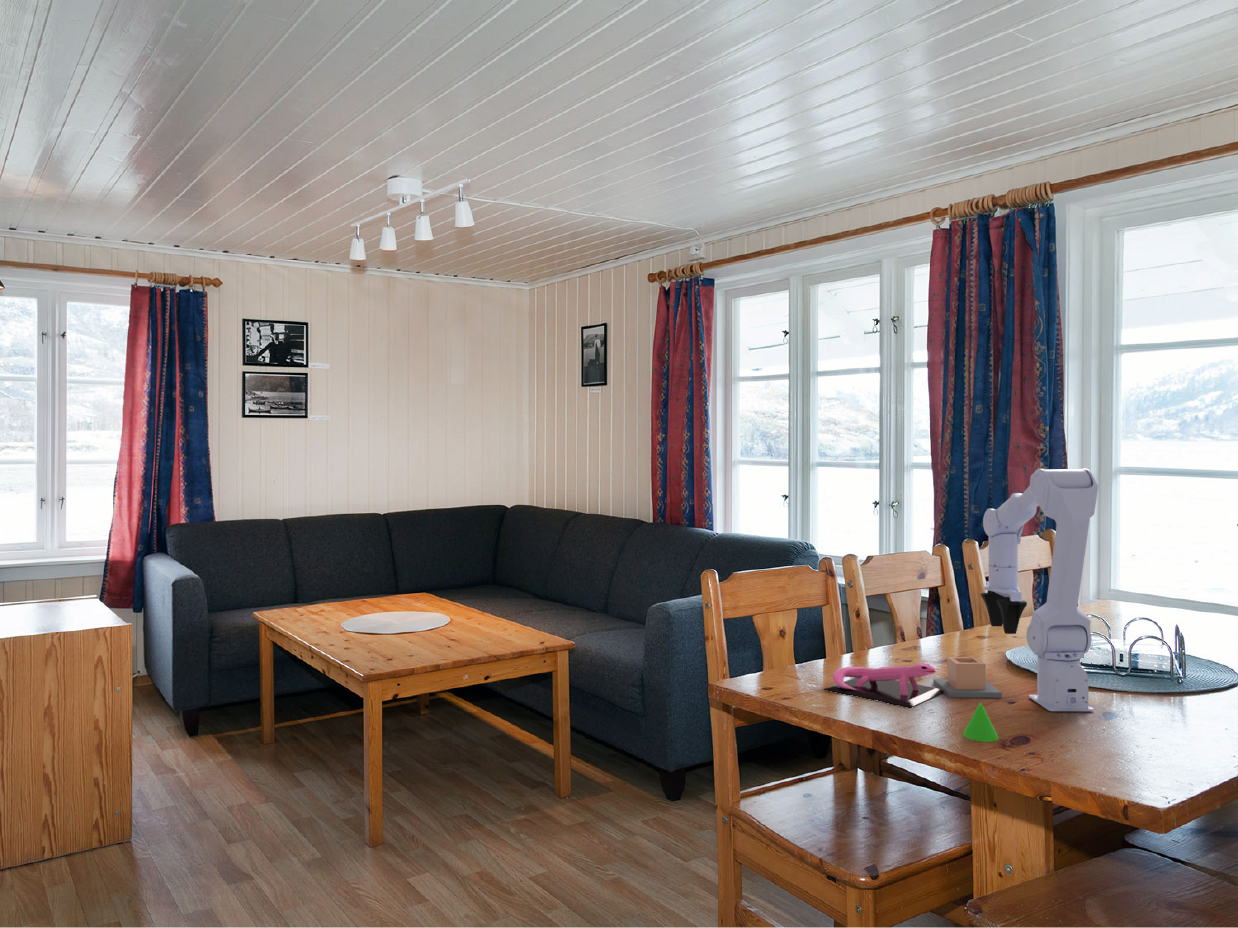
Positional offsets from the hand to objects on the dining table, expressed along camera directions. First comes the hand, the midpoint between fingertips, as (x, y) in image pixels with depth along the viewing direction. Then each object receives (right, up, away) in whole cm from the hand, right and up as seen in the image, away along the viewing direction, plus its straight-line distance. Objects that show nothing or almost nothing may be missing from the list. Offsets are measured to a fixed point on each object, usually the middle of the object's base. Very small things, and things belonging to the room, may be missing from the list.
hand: (1003, 629), depth 191 cm
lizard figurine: (-28, -11, -13) cm, 33 cm away
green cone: (-21, -11, -40) cm, 46 cm away
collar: (-13, -9, -12) cm, 20 cm away
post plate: (-13, -10, -12) cm, 20 cm away
